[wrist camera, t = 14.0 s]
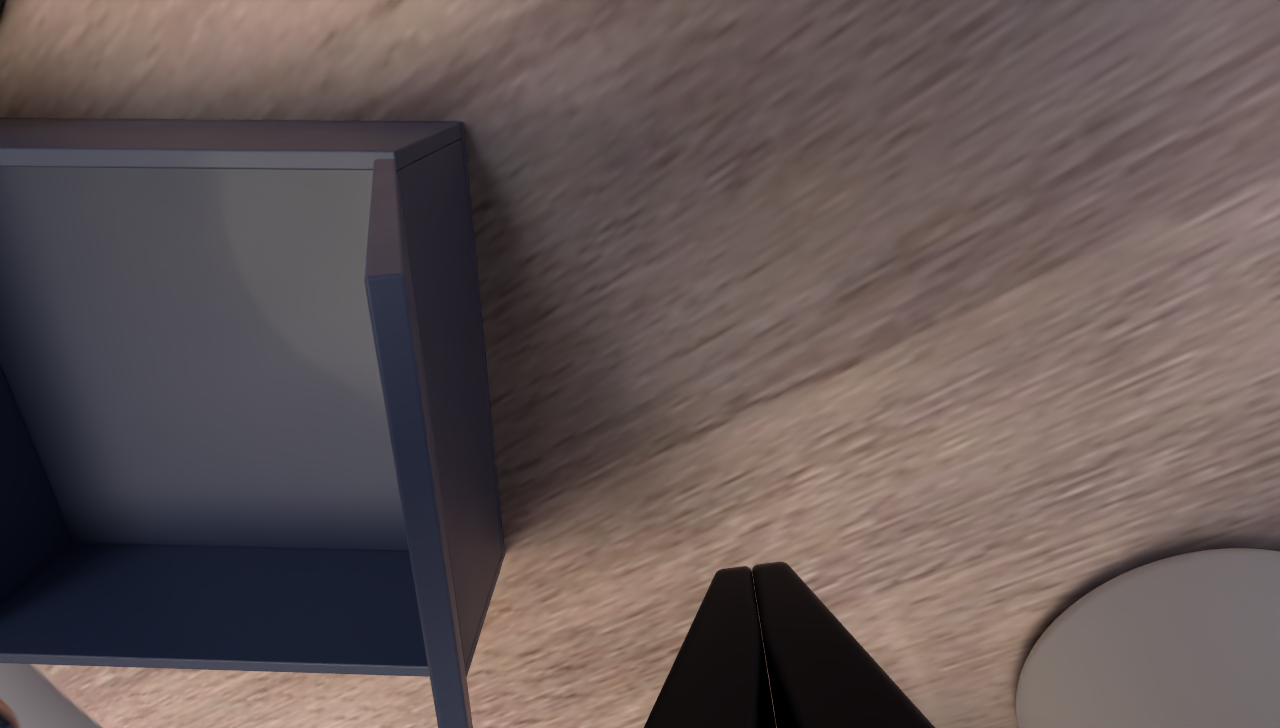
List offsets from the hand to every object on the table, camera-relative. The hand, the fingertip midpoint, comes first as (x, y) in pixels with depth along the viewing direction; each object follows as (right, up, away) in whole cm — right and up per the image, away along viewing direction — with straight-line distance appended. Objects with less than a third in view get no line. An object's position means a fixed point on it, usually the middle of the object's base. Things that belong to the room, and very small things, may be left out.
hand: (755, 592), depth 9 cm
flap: (-5, -1, +5) cm, 7 cm away
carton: (-14, +3, +14) cm, 20 cm away
